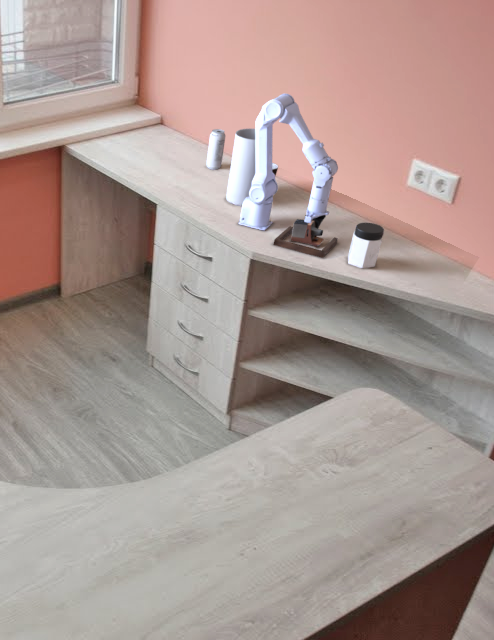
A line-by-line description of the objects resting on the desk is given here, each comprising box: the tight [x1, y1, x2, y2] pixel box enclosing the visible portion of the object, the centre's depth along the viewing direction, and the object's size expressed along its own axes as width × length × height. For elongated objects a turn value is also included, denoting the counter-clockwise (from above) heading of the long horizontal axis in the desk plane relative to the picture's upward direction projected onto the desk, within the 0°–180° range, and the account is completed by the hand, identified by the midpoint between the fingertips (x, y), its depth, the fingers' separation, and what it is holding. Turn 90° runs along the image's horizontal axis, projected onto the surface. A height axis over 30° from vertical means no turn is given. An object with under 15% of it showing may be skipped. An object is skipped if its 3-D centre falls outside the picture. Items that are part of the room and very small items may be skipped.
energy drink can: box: [205, 128, 226, 171], centre depth 321 cm, size 6×6×15 cm
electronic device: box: [290, 218, 324, 248], centre depth 263 cm, size 4×10×8 cm, turn 52°
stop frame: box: [273, 225, 338, 259], centre depth 264 cm, size 16×13×2 cm
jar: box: [347, 222, 385, 269], centre depth 250 cm, size 9×8×12 cm
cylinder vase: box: [225, 128, 256, 207], centre depth 289 cm, size 12×12×25 cm
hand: (311, 235), depth 267 cm, fingers closed, pressing on electronic device
